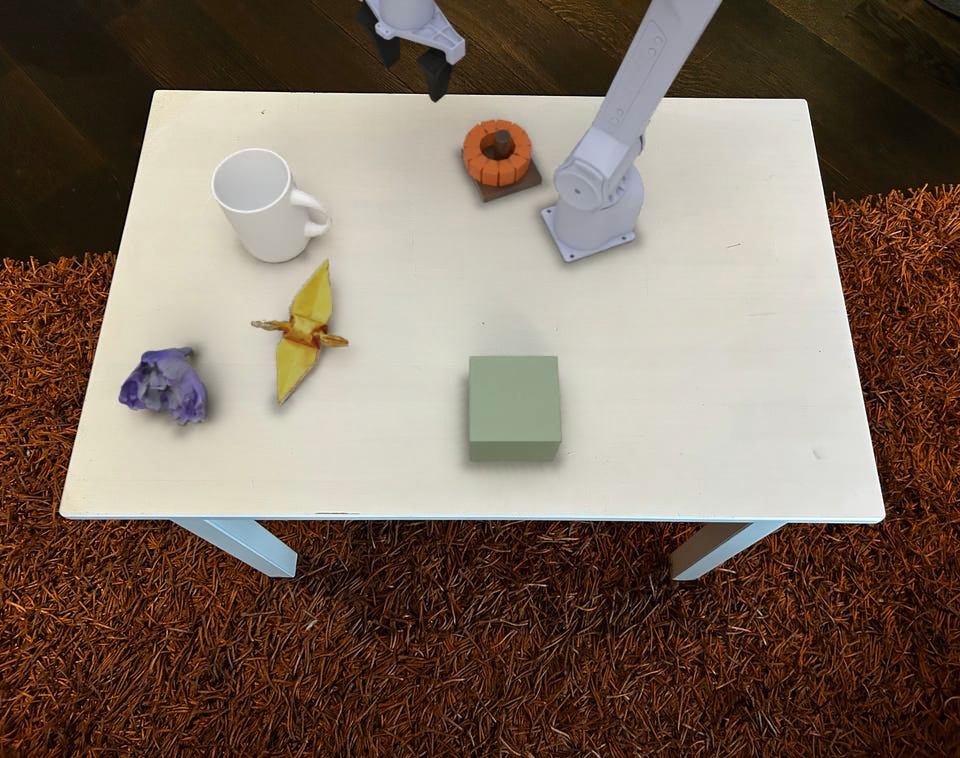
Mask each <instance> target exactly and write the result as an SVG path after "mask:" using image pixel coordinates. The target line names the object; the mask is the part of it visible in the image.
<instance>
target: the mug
mask: <svg viewBox="0 0 960 758" xmlns="http://www.w3.org/2000/svg"><path fill="white" fill-rule="evenodd" d="M210 188H211V192H212V196H213V197H214V199H215V201H216V202H217V204H218V206H219V208H220V209H221V211H222V212H223V214H224V215H225V217H226V219H227V220H228V222H229V224H230V225H231V228H232V229H233V230H234V232H235V234H236V236H237V237H238V239H239V241H240V242H241V243H242V246H243V247H244V248H245V249H246V251H247V252H248V253H249V254H250V255H251V256H253V257H254V258H256V259H257V260H260V261H262V262H267V263H283V262H287V261H290V260H291V259H294V258H296V257H297V256H299V255H300V254H301V253H302V252H303V251H305V249H306V247H307V246H308V244H309V243H310V240H311V238H314V237H320V236H323V235H324V234H326V233H327V232H328V231H330V229H331V227H332V217H331V214H330V212H329V210H328V209H327V207H326V206H325V205H324V204H323V203H322V202H321V201H320V200H319V199H317V198H315V197H314V196H312V195H310V194H309V193H306V192H305V191H302V190H301V189H299V188H298V186H297V183H296V181H295V179H294V177H293V174H292V171H291V169H290V166H289V164H288V163H287V161H286V159H284V158H283V156H281V155H280V154H278V153H276V152H275V151H272V150H270V149H266V148H262V147H250V148H244V149H241V150H237V151H235V152H233V153H231V154H229V155H228V156H227V157H224V158H223V159H222V160H221V161H220V162H219V163H218V164H217V166H216V167H215V169H214V171H213V174H212V176H211V182H210ZM307 208H310V209H313V210H316V211H318V212H320V213H321V214H323V215H324V216H325V218H327V222H326V223H324V224H319V223H315V222H313V221H311V218H310V216H309V213H308V210H307Z"/></svg>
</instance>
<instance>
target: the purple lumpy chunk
mask: <svg viewBox="0 0 960 758" xmlns="http://www.w3.org/2000/svg"><path fill="white" fill-rule="evenodd" d="M194 352H195V351H194V349H193V348H192V347H189V346H184V347H179V348H177V347H169V348H163V349H158V350H146V351H144V352H143V353H142V354H141V355H140V362H139V363H138V364H137V366H136V367H135V368H134V369H133V371H131V372H130V374H129V375H128V377H127V378H126V379H125V381H124V382H123V383H122V385H121V386H120V391H119V395H118V402H119V403H120V404H122V405H124V406H127V407H128V408H129V410H131V411H136V412H138V411H139V410H150V411H153V412H155V413H159V412H163V411H165V410H167V411H169V413H171V414H172V420H177V419H179V418H180V420H179V421H178V422H177V425H180V426H184V425H185V424H186V422H187V421H190V422H192V423H194V424H197V423H198V422H201V423H202V424H204V423H205V421H206V418H207V407H208V391H207V387H206V385H205V384H204V381H202V380H201V378H200V376H199V374H198V372H197V370H196V369H195V368H194V367H192V366H191V365H190V364H189V363H188V361H187V357H192V356H193V354H194Z"/></svg>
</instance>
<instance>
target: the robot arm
mask: <svg viewBox="0 0 960 758" xmlns="http://www.w3.org/2000/svg"><path fill="white" fill-rule="evenodd" d="M358 1H360V2H362V3H361V7H360V8H359V9H358V10H356V11H355V13H354V19H355V21H356V23H357V24H358V25H359V26H360V27H361V28H362V29H363V31H364V32H365V33H366V34H367V36H368V38H369V39H370V41H371V43H372V45H373V47H374V49H375V51H376V53H377V56H378V57H379V59H380V61H381V62H382V65H383V67H385V68H386V69H387V70H389V69H390V68H391V67H393V66H394V65H396V63H398V62H399V61H400V60H401V40H400V39H403V40H404V39H406V40H409V41H411V42H414V43H418V44H421V45H424V46H427V47H429V49H427V50H426V51H425V52H424V53H422V54H420V55H419V57H417V58H416V59H415V60H416V61H415V62H416V64H417V66H419V68H420V69H421V71H422V73H423V75H424V78H425V82H426V87H427V93H428V97H429V99H430V101H431V102H433V103H438V102H439V101H440V100H442V99H443V98H444V97H445V96H446V95H447V93H448V89H449V85H450V81H451V78H452V75H453V72H454V70H455V68H456V66H457V64H458V62H459V61H461V60H462V58H463V57H465V56H466V50H467V49H466V48H467V47H466V46H467V45H466V39H465V38H463V36H461V35H459V33H458V32H457V31H456V30H455V28H454V27H453V26H452V25H451V23H450V21H449V20H448V18H447V17H446V15H444V13H443V12H442V10H441V9H440V7H439V6H438V4H437V3H436V2H435V0H358ZM722 2H723V0H651V2H650V4H649V6H648V8H647V10H646V13H645V15H644V17H643V19H642V21H641V22H640V25H639V27H638V29H637V30H636V33H635V35H634V37H633V39H632V41H631V43H630V44H629V45H630V46H629V47H628V49H627V52H626V54H625V55H624V57H623V59H622V61H621V63H620V66H619V68H618V70H617V72H616V74H615V76H614V77H613V80H612V82H611V83H610V86H609V88H608V90H607V92H606V95H605V96H604V99H603V101H602V103H601V105H600V107H599V108H598V111H597V113H596V115H595V117H594V119H593V121H592V122H591V125H590V126H589V128H588V129H587V130H586V132H585V133H584V134H583V135H582V137H581V138H580V140H578V142H577V144H576V145H575V146H574V148H573V149H572V150H571V152H570V153H569V155H567V157H566V158H565V160H564V161H563V162H562V163H561V164H560V165H558V166H557V168H556V169H555V171H554V173H553V176H552V180H553V185H554V188H555V189H556V192H557V193H558V198H557V201H556V204H555V205H553V206H549V207H546V208H543V209H542V210H541V212H540V215H541V217H542V220H543V221H544V223H545V225H546V227H547V229H548V232H549V233H550V235H551V237H552V239H553V241H554V243H555V245H556V246H557V248H558V250H559V253H560V254H561V257H562V258H563V260H564V261H565V263H571V262H575V261H578V260H580V259H583V258H585V257H589V256H592V255H594V254H597V253H600V252H603V251H607V250H608V249H609V250H610V249H611V248H614V247H618V246H621V245H623V244H626V243H628V242H633V241H634V240H635V239H636V234H635V231H634V228H635V226H636V223H637V221H638V218H639V215H640V212H641V210H642V209H643V208H642V207H643V205H644V202H645V187H644V183H643V179H642V177H641V176H642V175H641V174H640V172H639V169H638V168H637V167H636V166H635V164H634V162H635V161H636V159H637V158H638V157H639V156H640V155H641V154H642V153H643V151H644V149H645V147H646V130H647V128H648V126H649V125H650V123H651V118H652V116H653V115H654V113H655V112H656V110H657V108H658V106H659V105H660V103H662V101H663V98H664V97H665V95H666V94H667V92H668V90H669V88H670V87H671V85H672V84H673V83H674V81H675V80H676V77H677V76H678V74H679V72H680V71H681V69H682V67H683V66H684V64H685V62H686V61H687V59H688V58H689V56H690V54H691V53H692V52H693V50H694V48H695V46H696V44H697V43H698V41H699V40H700V38H701V37H702V35H703V33H704V32H705V30H706V28H707V27H708V25H709V24H710V22H711V20H712V18H713V17H714V16H715V14H716V12H717V10H718V8H719V7H720V6H721V4H722Z"/></svg>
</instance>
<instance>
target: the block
mask: <svg viewBox="0 0 960 758" xmlns="http://www.w3.org/2000/svg"><path fill="white" fill-rule="evenodd" d="M468 357H469V358H468V360H469V362H468V363H469V365H468V369H469V370H468V372H469V375H468V378H469V380H468V393H469V394H468V401H469V402H468V419H469V420H468V447H469V462H553V461H554V459H555V457H556V454H557V451H558V450H559V447H560V445H561V443H562V441H563V439H562V438H563V437H562V421H561V419H562V417H561V401H560V400H561V399H560V397H561V396H560V381H559V379H560V378H559V361H558V357H559V356H557V355H526V356H525V355H523V356H522V355H497V356H496V355H495V356H494V355H470V356H468Z"/></svg>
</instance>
